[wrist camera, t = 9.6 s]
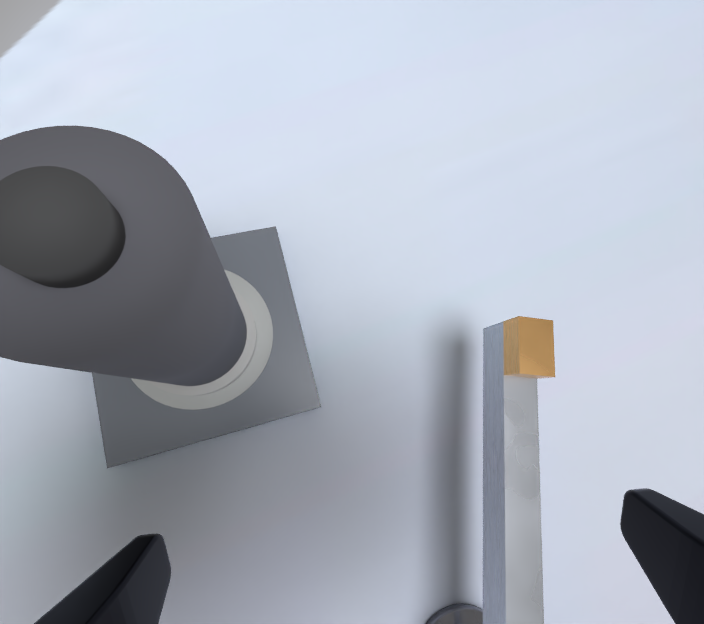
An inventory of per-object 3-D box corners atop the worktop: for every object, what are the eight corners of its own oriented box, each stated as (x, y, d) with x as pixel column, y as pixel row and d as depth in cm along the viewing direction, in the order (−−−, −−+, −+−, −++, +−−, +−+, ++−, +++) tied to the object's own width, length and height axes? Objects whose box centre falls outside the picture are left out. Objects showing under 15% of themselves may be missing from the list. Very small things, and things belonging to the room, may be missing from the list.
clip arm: (537, 763, 16) (594, 844, 13) (463, 768, 15) (505, 853, 13) (527, 333, 20) (569, 322, 17) (468, 326, 20) (501, 313, 17)
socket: (319, 406, 21) (321, 406, 20) (114, 465, 19) (105, 468, 18) (275, 232, 23) (275, 224, 22) (82, 267, 20) (72, 260, 19)
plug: (250, 398, 19) (194, 395, 7) (128, 392, 19) (-216, 375, 6) (261, 288, 21) (232, 105, 8) (147, 278, 20) (-98, 52, 7)
